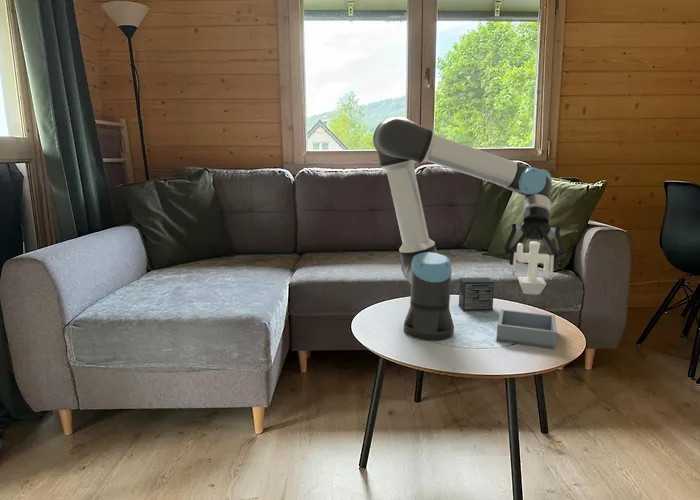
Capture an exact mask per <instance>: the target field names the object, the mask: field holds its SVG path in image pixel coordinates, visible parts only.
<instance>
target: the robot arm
mask: <svg viewBox="0 0 700 500" xmlns="http://www.w3.org/2000/svg"><path fill="white" fill-rule="evenodd" d="M373 132H374V133H373V135H372V136H373V137H372V143H373V147H374V148H375V149H374V150H376V152H377V157H378V162H379V164H380V165H379V166H380V168H381V169H383V170H384V171H385V172H386V175H387V179H388V183H389V188H390V189H389V190H390V194H391V197H392V201H393V207H394V210H395V215H396V220H397V224H398V228H399V233H400V237H401V238H400V239H401V243H402V244H401V246H400V247H399V249H398V250H399V255H400V259H401V262H400V264H401V267H400V268H401V271H402V274H403V276H404V277H405V278H406V279H407V281H408V282H409V284H410V303H409V304H410V305H409V309H408V311H407V313H406V316H405V319H404V322H403V332H404V333H405V334H406V335H407V336H408V337H411V338H414V339H417V340H421V341H422V340H423V341H443V340H448V339H450V338H451V337H453V336H454V333H455V332H454V331H455V326H454V321H453V319H452V318H453V317H452V314H451V311H450V298H451V283H452V282H451V281H452V280H451V279H452V273H453V272H452V271H453V267H452V262H451V260H450V258H449V257H448V256H446V255H444V254H441V253H437V252H438V251H437V247H436V243H435V241H434V240H432V239H431V238H430V237H429V233H428V227H427V222H426V218H425V213H424V208H423V204H422V198H421V193H420V189H419V188H420V187H419V184H418V180H417V175H416V170H415V163H416V162H417V163H421V164H422V163H425V162H429V163H432V164H434V165H438V166H441V167H444V168H447V169H450V170H453V171H455V172H459V173H461V174H465V175H468V176H472V177H475V178H478V179H480V180H484V181H487V182H490V183H493V184H496V185H497V187H498V186H499V187H501V188H505V189H506V190H509V191H511V192H515V193H517V194H518V195H522V196H524V205H523V206H524V207H523V215H522V216H523V217H522V224H520V225H517V224H516V223H512V224H511V231H510V234H509V236H508V239H507V240H506V242H505V245H504V248H503V253H504V254H505V255H509V259H508V264H509V265H510V266H511V265H512V273H511V274H512V275H511V276H512V277H515V276H516V269H517V258H516V255H517V245H518V244H519V243H522V244H523V245H524V244H525V243H527V241H528V240H537V241H540V240H541V242H542V243H543V244H544V246H545V248H546V249H547V251H548V253H549V255H550V271H549V273H548V274H549V277H548V279H549V280H553V278H554V277H553V276H554V269H558V265H559V264H558V263H559V259H564V258H565V253H566V251H565V248H564V244H563V242H562V240H563V239H562V238H561V233H560V231H561V227H560V225H559V226H555V227H553V226H552V227H551V225H550V214H551V213H550V211H551V198H552V197H551V196H552V195H551V194H552V186H553V185H552V176H551V175H552V174H550V172H549V171H548V170H547V169H545V168H541V169H539V168H537V167H533V166H532V167H531V166H527V165H526V164H522V163H518V162H516V161H514V160H513V161H512V160H510V159H507V158H504V157H502V156H499V155H496V154H493V153H489V152H487V151H484V150H481V149H478V148H475V147H472V146H470V145H467V144H463V143H460V142H457V141H454V140H451V139H448V138H446V137H443V136H439V135H438V134H437V135H436V134H435V131H434V130H433V129H430V128H427V127H425V126H422V125H420V124H418V123H416V122H414V121H412V120H410V119H408V118H406V117H401V116H397V117H392V118H387V119H385V120H382V121H381V122H380V123H379V124H377V126H376V127H375V130H374V131H373ZM519 231H521V233H522V234H521V236H520V238H518V240H517V241H516V242H515V243H514V240H515V238H516V237H517V234H518V233H519ZM549 233H551V235H552V236H553V238H554V242H555V245H556V247H555V246H554V244H553V243H552V241H551V240H550V238H549V236H548V234H549ZM513 243H514V245H513ZM512 245H513V246H512Z"/></svg>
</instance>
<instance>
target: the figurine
mask: <svg viewBox="0 0 700 500" xmlns="http://www.w3.org/2000/svg"><path fill="white" fill-rule="evenodd" d="M540 245H541V242H538V240H537V241H536V240H530V241H529V244H528V249H529V251H528V252H524V244H522V243H519V244H518V245H517V255H516V262H518V263H528V264H527V276H525V275H523V276H522V275H521V276H520V275H517V280H518V282H519V285H520V288H521V291H522V293H523V294H526V295H540V294H541V293H542V292H543V290H544V289H545V287H546V285H547V282H546V281H545V279H544V278H543V277H542V276H540V277H539V276H537V272H538V264H543V272H544V273H548V274H549V273H550V258H551V254H548V253H539V251H540V249H541V248H540V247H541V246H540Z"/></svg>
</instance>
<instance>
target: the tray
mask: <svg viewBox="0 0 700 500" xmlns="http://www.w3.org/2000/svg"><path fill="white" fill-rule="evenodd" d="M556 322H557V321H556V315H553V314H548V313H547V314H544V313H536V312H530V311H529V312H527V311H518V310H513V309H512V310H509V309H500V311H499V315H498V321H497V325H496V326H497V327H496V339H495V341H496V342H500V343H508V344H515V345H519V346H520V345H521V346H528V347H534V348H542V349H543V348H544V349H552V350H556V347H557V346H556V345H557V337H558V336H557V335H558V329H557V323H556Z"/></svg>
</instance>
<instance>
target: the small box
mask: <svg viewBox="0 0 700 500" xmlns="http://www.w3.org/2000/svg"><path fill="white" fill-rule="evenodd" d="M458 289H459V292H458V293H459V295H458V307H459V309H461V311H463V312H479V311H480V312H484V311H489V312H490V311H491V312H492V311H493V309H494V290H495V281H494V280H492V279H491V278H490V277H486V276H485V277H460V278H459V287H458Z"/></svg>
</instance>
